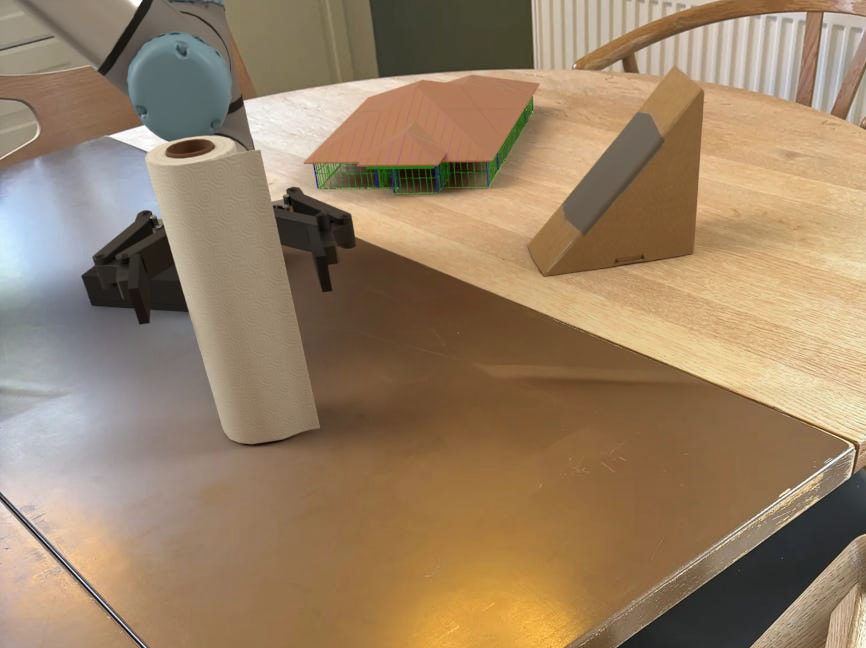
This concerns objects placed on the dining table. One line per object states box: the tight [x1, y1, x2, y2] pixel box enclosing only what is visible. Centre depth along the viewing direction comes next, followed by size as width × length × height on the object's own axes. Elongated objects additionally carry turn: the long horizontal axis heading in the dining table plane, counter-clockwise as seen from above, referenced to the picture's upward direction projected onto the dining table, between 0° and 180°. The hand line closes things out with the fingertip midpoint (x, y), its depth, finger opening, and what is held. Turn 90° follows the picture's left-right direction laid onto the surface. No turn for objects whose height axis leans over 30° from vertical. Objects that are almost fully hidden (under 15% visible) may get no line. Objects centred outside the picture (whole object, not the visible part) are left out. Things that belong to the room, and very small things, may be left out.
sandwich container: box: [527, 64, 705, 277], centre depth 97 cm, size 9×15×15 cm, turn 100°
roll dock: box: [80, 264, 189, 312], centre depth 104 cm, size 14×14×3 cm
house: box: [303, 74, 541, 195], centre depth 127 cm, size 23×33×8 cm
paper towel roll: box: [144, 136, 321, 445], centre depth 75 cm, size 7×6×21 cm
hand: (232, 290), depth 74 cm, fingers open, 13 cm apart
